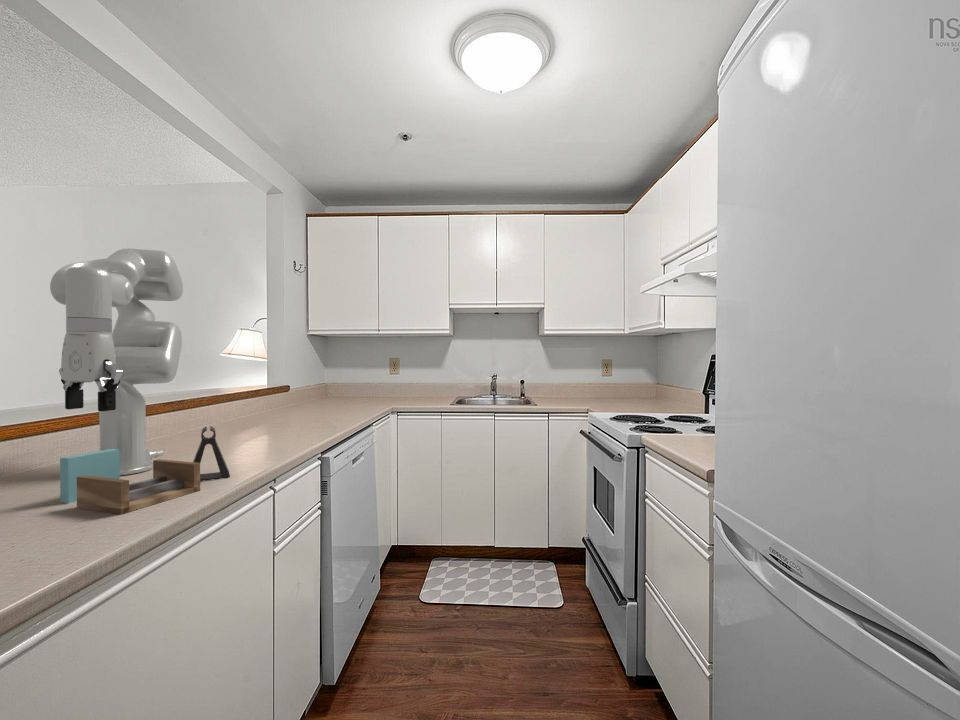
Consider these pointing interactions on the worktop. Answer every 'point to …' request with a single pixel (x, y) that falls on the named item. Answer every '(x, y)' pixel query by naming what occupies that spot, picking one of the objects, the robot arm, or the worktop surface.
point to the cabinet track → (138, 488)
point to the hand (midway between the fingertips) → (90, 409)
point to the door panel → (86, 470)
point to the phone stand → (219, 458)
